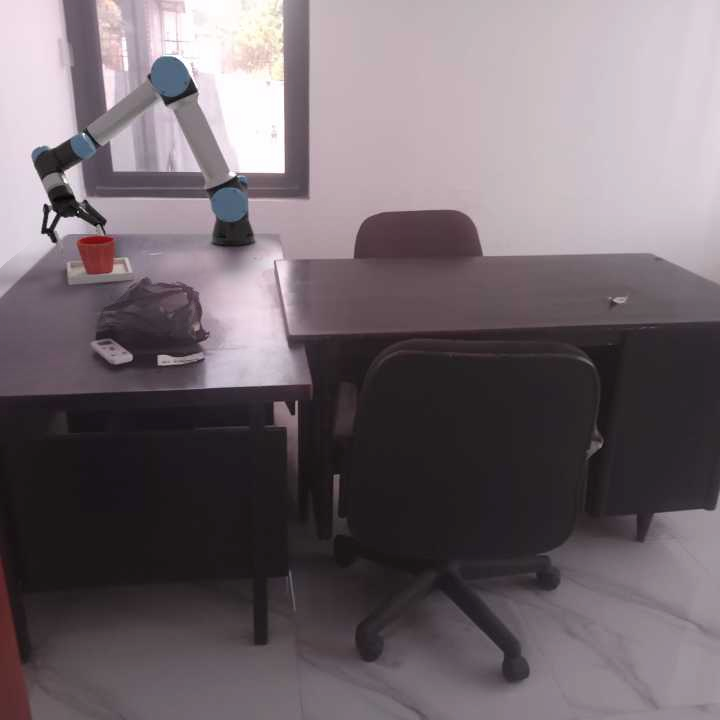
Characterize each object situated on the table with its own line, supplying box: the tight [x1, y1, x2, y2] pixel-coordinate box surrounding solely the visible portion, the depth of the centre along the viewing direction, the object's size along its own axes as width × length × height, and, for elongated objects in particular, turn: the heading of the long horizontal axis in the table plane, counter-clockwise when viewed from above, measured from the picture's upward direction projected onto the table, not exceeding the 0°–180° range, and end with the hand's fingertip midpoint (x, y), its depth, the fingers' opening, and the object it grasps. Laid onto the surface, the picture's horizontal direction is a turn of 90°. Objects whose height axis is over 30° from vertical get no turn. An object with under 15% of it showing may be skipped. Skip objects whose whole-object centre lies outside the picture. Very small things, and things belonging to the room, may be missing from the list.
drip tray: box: [66, 257, 134, 286], centre depth 225 cm, size 18×18×2 cm
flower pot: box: [75, 235, 116, 275], centre depth 223 cm, size 11×11×10 cm
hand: (84, 247), depth 230 cm, fingers open, 13 cm apart
